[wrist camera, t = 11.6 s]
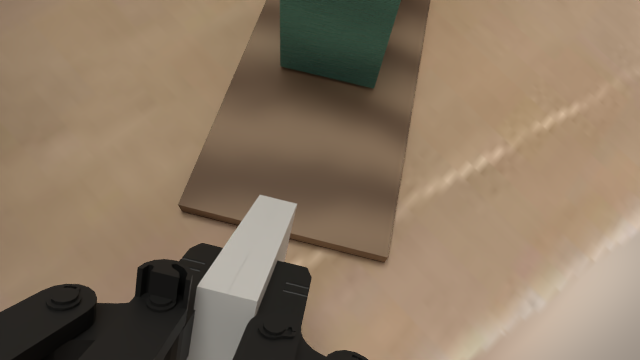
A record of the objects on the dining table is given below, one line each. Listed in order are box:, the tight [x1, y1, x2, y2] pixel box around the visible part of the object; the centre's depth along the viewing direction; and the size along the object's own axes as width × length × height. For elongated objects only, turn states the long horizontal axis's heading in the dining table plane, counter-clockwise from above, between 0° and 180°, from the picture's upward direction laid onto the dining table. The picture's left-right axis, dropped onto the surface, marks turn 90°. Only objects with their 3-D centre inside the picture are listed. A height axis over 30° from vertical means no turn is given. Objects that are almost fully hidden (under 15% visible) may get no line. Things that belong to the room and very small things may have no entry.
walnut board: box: [178, 0, 430, 262], centre depth 33 cm, size 33×13×1 cm, turn 167°
